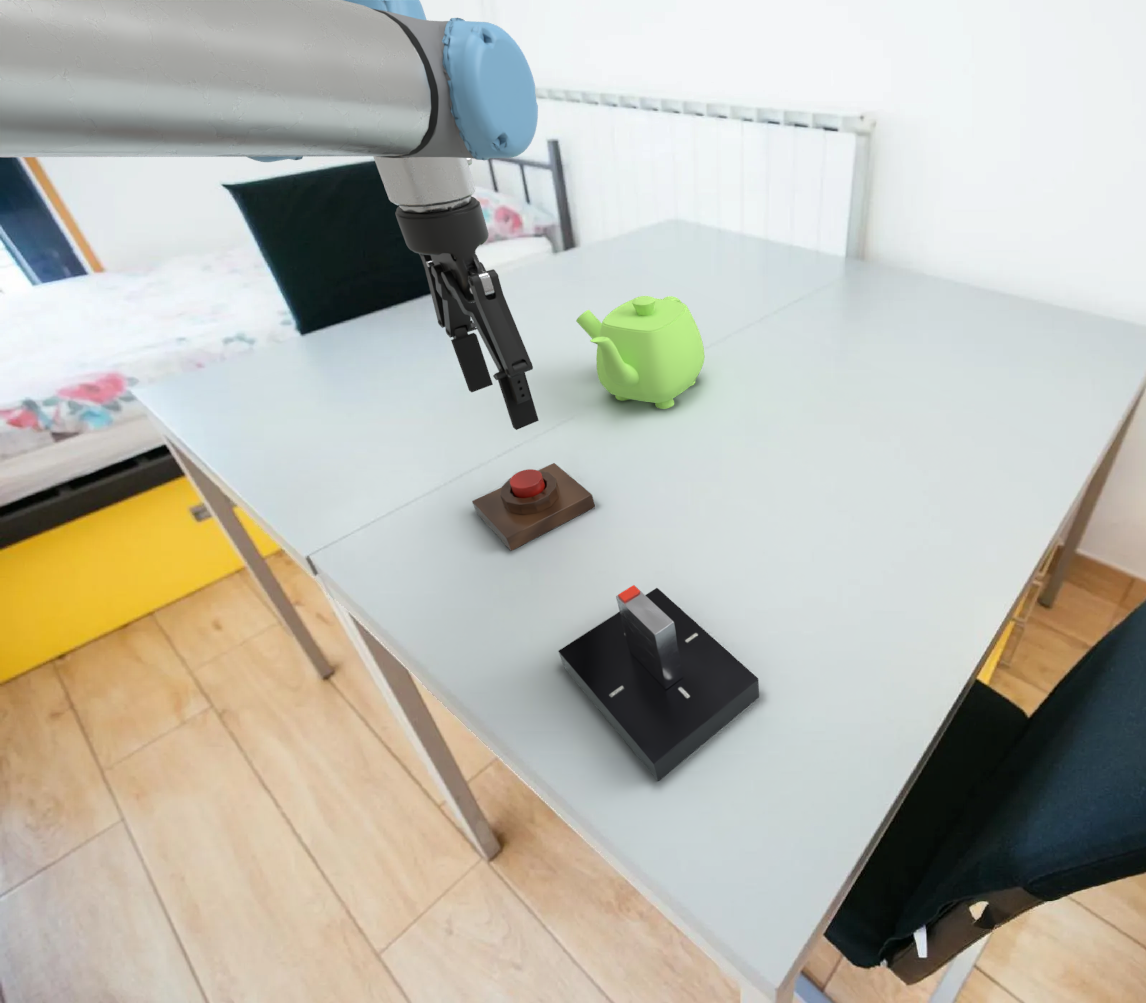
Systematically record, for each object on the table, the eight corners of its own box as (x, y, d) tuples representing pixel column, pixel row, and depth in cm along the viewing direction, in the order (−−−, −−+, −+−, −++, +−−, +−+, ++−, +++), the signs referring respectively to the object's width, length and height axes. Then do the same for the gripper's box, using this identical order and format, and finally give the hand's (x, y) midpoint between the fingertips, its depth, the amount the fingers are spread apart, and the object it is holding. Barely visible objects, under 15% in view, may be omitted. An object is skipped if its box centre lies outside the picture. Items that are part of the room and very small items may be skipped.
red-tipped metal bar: (683, 677, 58) (673, 620, 53) (666, 690, 57) (654, 633, 52) (645, 639, 61) (633, 582, 56) (629, 651, 60) (615, 594, 55)
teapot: (622, 350, 118) (607, 266, 108) (724, 368, 112) (719, 280, 102) (540, 415, 101) (514, 322, 91) (655, 441, 94) (641, 344, 84)
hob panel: (658, 781, 53) (653, 763, 51) (564, 669, 63) (557, 649, 61) (759, 697, 60) (758, 677, 58) (660, 605, 69) (656, 586, 67)
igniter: (511, 551, 76) (502, 527, 74) (476, 513, 82) (467, 490, 79) (595, 507, 82) (589, 483, 80) (557, 475, 88) (551, 452, 86)
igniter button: (522, 503, 78) (518, 492, 77) (507, 489, 80) (504, 478, 79) (550, 489, 80) (547, 478, 79) (535, 475, 82) (532, 465, 81)
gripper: (532, 215, 53) (583, 431, 67) (428, 175, 67) (489, 361, 81) (445, 235, 49) (519, 460, 63) (354, 188, 63) (431, 381, 77)
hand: (502, 405), depth 72 cm, fingers open, 11 cm apart
